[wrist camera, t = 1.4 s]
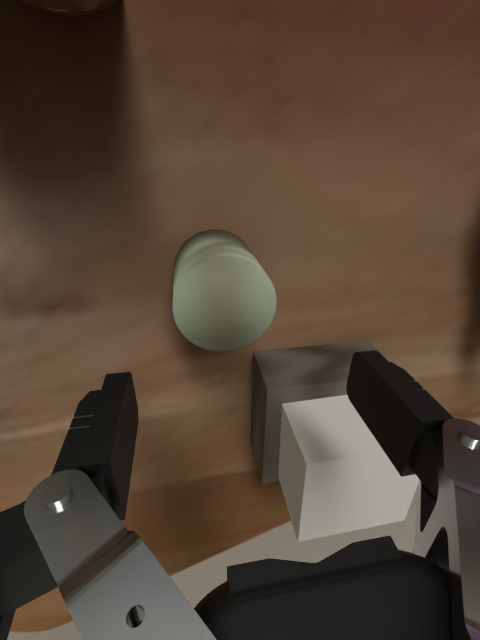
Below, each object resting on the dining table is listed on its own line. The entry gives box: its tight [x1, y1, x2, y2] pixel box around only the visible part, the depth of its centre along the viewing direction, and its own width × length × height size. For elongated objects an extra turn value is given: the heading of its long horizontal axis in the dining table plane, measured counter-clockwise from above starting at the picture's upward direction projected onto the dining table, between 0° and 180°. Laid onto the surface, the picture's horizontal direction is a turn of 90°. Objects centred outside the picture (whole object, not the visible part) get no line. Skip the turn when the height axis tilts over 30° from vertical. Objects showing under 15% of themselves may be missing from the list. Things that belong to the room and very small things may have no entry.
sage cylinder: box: [173, 230, 276, 352], centre depth 20 cm, size 6×6×6 cm
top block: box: [278, 395, 419, 542], centre depth 23 cm, size 8×8×5 cm
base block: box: [251, 341, 379, 484], centre depth 27 cm, size 10×10×5 cm
